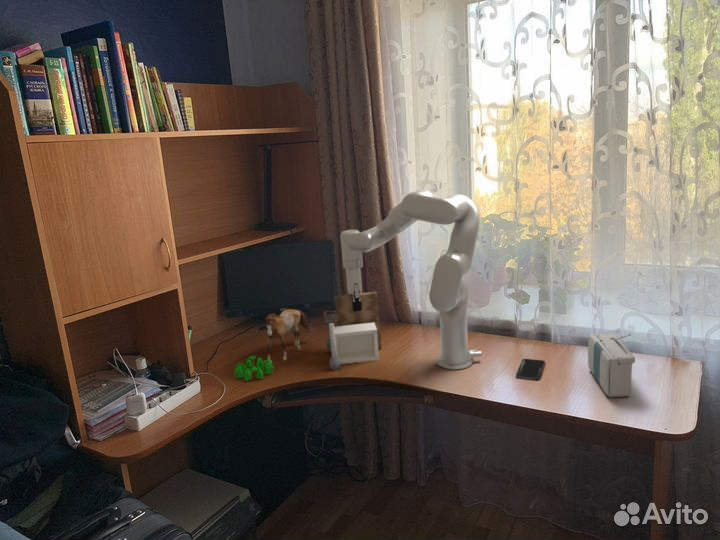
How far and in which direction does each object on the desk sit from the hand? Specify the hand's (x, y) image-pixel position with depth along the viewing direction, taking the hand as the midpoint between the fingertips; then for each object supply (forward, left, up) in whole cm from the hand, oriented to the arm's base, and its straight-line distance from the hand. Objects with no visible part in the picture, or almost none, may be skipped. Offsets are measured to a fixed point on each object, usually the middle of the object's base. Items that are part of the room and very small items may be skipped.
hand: (357, 309), depth 220 cm
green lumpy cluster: (+40, +11, -17) cm, 45 cm away
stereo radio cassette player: (-74, +51, -17) cm, 91 cm away
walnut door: (+2, 0, -16) cm, 16 cm away
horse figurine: (+25, -2, -17) cm, 30 cm away
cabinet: (+3, +10, -17) cm, 20 cm away
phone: (-55, +35, -17) cm, 67 cm away
